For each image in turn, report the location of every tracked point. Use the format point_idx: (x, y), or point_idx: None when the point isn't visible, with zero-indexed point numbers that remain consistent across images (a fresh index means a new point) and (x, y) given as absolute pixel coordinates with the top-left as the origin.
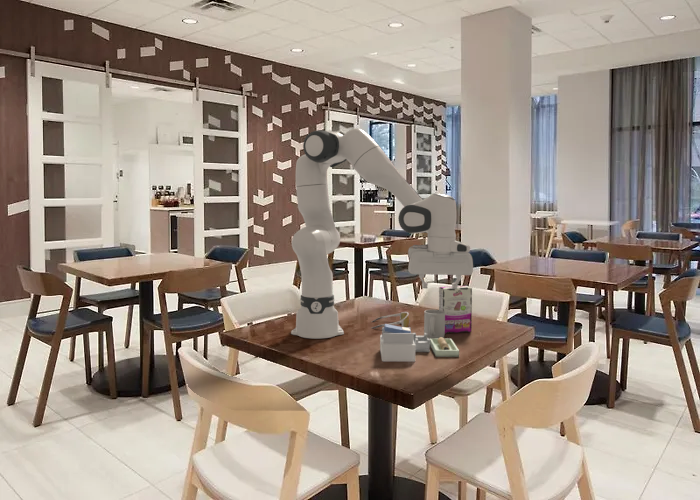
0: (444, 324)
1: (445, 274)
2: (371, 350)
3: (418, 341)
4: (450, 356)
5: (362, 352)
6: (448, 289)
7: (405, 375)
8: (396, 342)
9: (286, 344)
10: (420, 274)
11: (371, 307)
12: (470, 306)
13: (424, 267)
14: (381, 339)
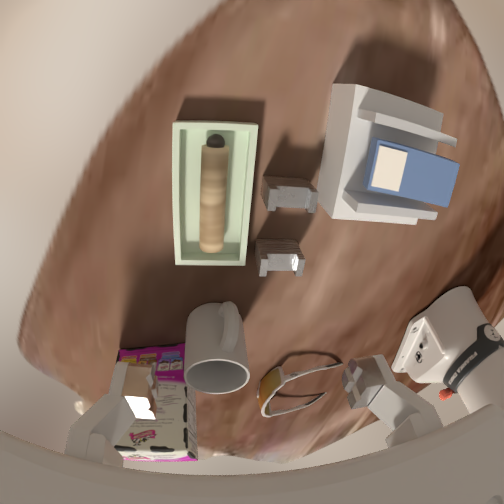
0: (187, 341)
1: (227, 477)
2: None
3: (302, 204)
4: (205, 120)
5: None
6: (170, 449)
7: None
8: (408, 121)
9: (500, 254)
10: (441, 427)
11: (293, 441)
12: None
13: (453, 480)
14: None
